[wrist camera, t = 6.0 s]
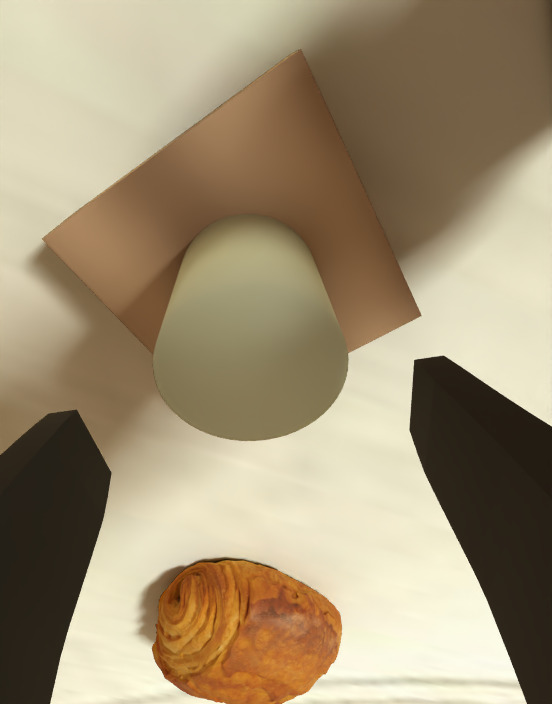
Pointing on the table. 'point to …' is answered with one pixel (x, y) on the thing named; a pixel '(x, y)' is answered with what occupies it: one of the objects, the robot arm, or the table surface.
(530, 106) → the table surface
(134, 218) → the walnut base
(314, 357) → the sage cylinder
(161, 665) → the croissant
